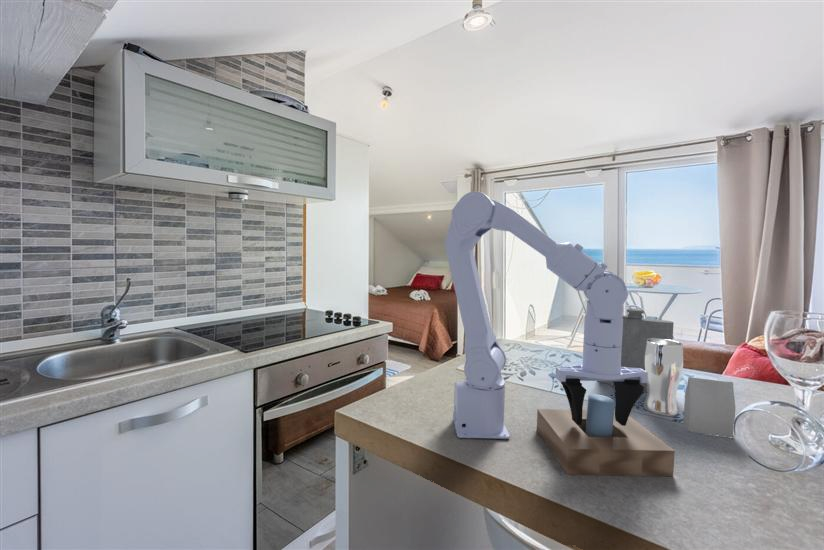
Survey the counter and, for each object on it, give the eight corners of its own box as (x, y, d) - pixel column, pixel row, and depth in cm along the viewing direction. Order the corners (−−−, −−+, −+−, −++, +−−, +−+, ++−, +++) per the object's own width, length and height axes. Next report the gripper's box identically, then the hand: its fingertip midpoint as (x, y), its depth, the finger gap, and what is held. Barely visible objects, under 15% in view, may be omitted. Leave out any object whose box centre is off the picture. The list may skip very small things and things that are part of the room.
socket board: (567, 474, 56) (568, 448, 55) (536, 429, 70) (537, 409, 69) (673, 476, 55) (674, 450, 55) (621, 431, 69) (622, 410, 69)
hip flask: (669, 391, 90) (674, 311, 89) (669, 396, 87) (674, 313, 86) (597, 378, 99) (601, 305, 98) (595, 382, 96) (599, 306, 95)
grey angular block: (733, 438, 67) (737, 385, 67) (688, 431, 70) (691, 380, 69) (725, 430, 71) (729, 379, 70) (683, 423, 73) (686, 374, 73)
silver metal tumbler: (662, 418, 75) (666, 346, 74) (633, 405, 82) (637, 338, 81) (688, 415, 77) (692, 344, 76) (658, 402, 84) (661, 337, 83)
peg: (591, 456, 61) (595, 403, 60) (580, 443, 65) (583, 393, 64) (615, 457, 61) (619, 404, 60) (602, 444, 65) (606, 394, 64)
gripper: (631, 338, 65) (627, 412, 66) (550, 337, 65) (547, 411, 66) (657, 349, 58) (653, 431, 59) (566, 347, 58) (563, 430, 59)
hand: (598, 422), depth 62 cm, fingers open, 7 cm apart
